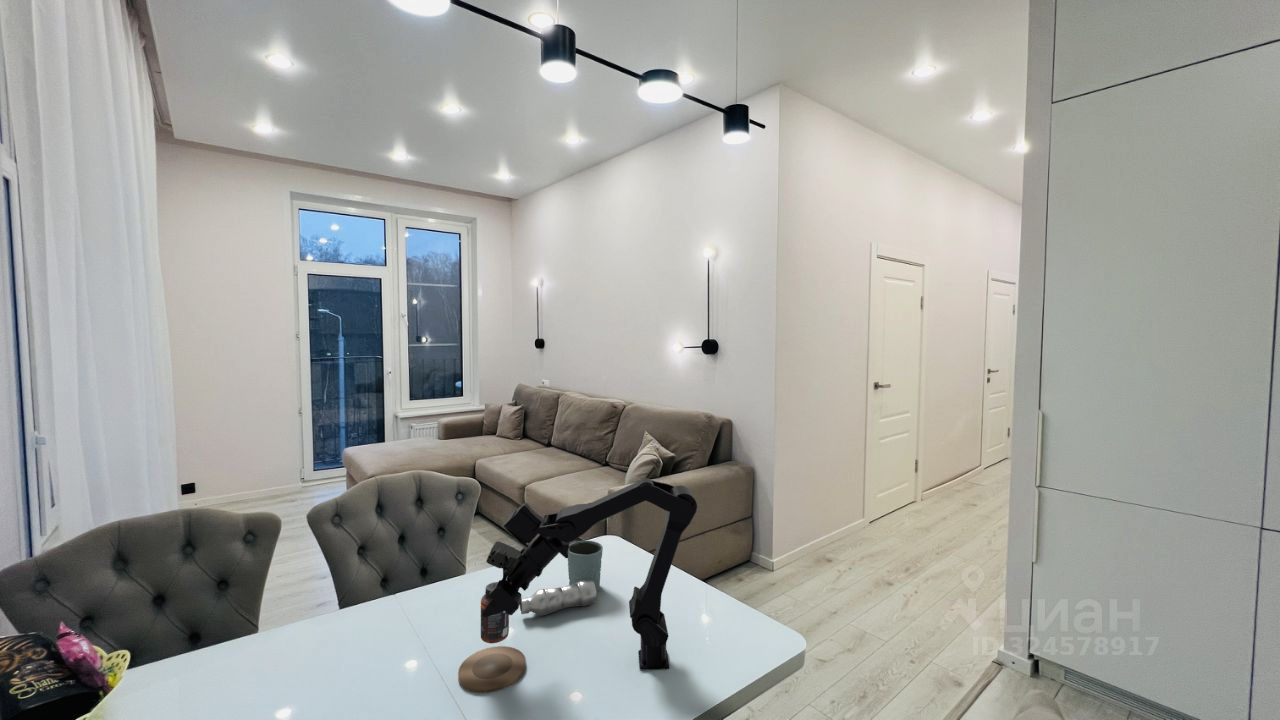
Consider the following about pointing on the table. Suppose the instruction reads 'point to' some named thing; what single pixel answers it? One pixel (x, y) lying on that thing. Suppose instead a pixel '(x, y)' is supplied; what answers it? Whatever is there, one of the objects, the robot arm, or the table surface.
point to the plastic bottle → (559, 598)
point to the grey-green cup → (585, 562)
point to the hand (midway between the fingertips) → (487, 607)
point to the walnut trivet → (492, 669)
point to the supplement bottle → (493, 621)
